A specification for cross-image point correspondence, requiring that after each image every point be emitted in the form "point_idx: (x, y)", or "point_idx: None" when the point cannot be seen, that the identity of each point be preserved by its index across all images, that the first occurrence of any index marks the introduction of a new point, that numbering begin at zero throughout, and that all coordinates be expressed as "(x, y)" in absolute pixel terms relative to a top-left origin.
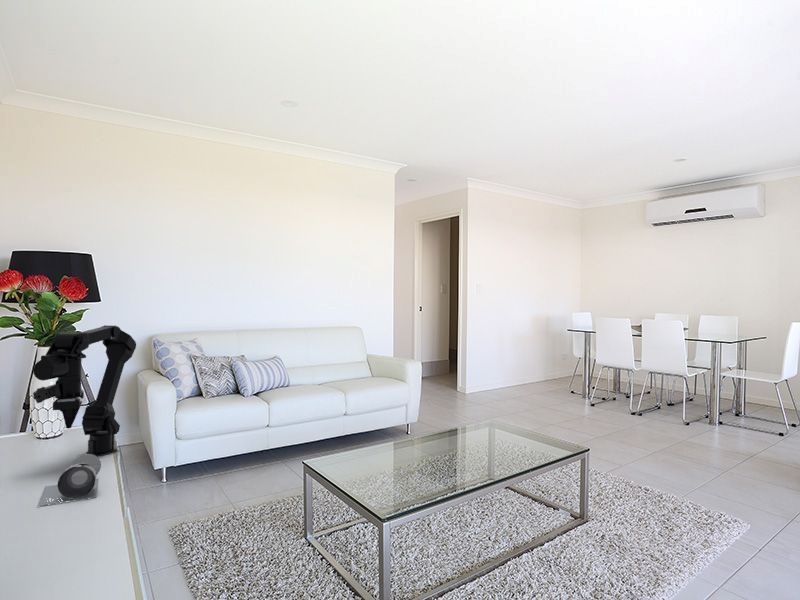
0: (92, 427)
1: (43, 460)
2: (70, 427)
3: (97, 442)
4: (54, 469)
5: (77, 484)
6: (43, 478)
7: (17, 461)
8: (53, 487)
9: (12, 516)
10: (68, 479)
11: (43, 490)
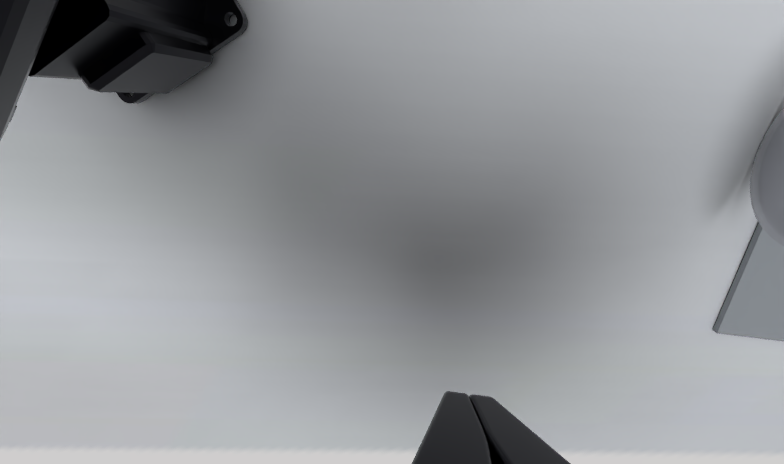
0: (35, 37)
1: (182, 321)
2: (497, 407)
3: (148, 9)
4: (399, 281)
5: None
6: (536, 330)
7: (148, 415)
8: (775, 301)
9: None
10: None
11: (781, 340)
